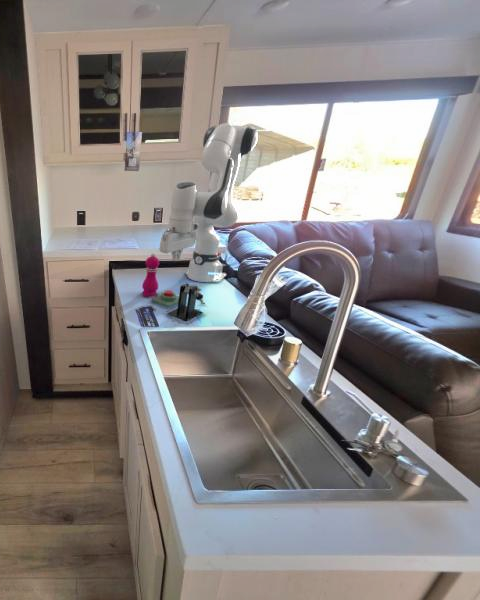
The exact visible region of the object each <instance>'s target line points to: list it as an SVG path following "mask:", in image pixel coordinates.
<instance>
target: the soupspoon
mask: <svg viewBox="0 0 480 600" xmlns="http://www.w3.org/2000/svg"><path fill="white" fill-rule="evenodd" d="M195 286H197V287H198V290H197V293H200V292H199V291H200V290H202V287H201V286H199V285H196V284H189V287H190V288H193V287H195ZM200 304H201V305H206V302H205V301H204V300H203V298H202V299H201V300H200Z"/></svg>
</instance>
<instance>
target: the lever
mask: <svg viewBox="0 0 480 600" xmlns="http://www.w3.org/2000/svg"><path fill="white" fill-rule="evenodd" d="M189 289H190V287H187V286H186V287H185V289H184V292H185V293H187V295H189ZM203 298H204V294H203V293H202V292H199V293H197V296H196V301H201V299H202V300H203Z"/></svg>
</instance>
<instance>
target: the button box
mask: <svg viewBox="0 0 480 600" xmlns="http://www.w3.org/2000/svg"><path fill="white" fill-rule="evenodd" d="M164 294H165V291H164V292H161V293H160V294H159V295H158V296H157V295H156V296H155V297H152V298H151V302H153V303H156V304H158V305H161V306H163V307H166V308H169V309H170V308H172V307H174V306H176V305H178V301H179V295H177V294H176V293H174V292H173V296H172V297H168V296H165V295H164Z"/></svg>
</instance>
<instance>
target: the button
mask: <svg viewBox="0 0 480 600" xmlns="http://www.w3.org/2000/svg"><path fill="white" fill-rule="evenodd" d="M164 292H165V294H164V295H165V296H168V297H172V296H173V293H174V291H173V290H169V289H168V290H164Z"/></svg>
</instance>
